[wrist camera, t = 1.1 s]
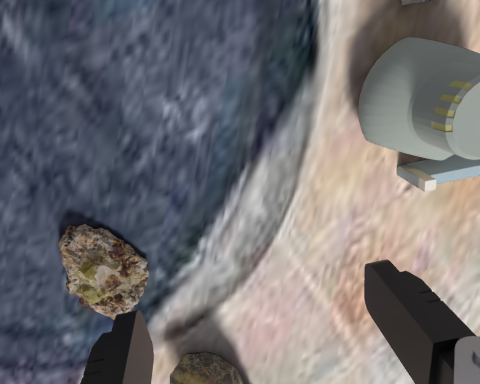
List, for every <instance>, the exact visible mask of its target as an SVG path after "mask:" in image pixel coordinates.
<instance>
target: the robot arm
mask: <svg viewBox="0 0 480 384" xmlns="http://www.w3.org/2000/svg"><path fill="white" fill-rule="evenodd" d="M364 298H365V303H366V307H367V310H368V312H369V314H370V316H371V317H372V319H373V320H374V322H375V323H376V325H377V326H378V328H379V329H380V331H381V332H382V334H383V335H384V337H385V338H386V340H387V341H388V343H389V345H390V346H391V348H392V349H393V351H394V352H395V354H396V355H397V357H398V358H399V360H400V361H401V363H402V364H403V366H404V367H405V369H406V370H407V372H408V373H409V375H410V377H411V378H412V380H413V381H414V383H415V384H480V337H478V336H476V335H475V334H474V333H473V332H472V331H471V330H470V329H469V328H468V327H467V326H466V325H465V324H464V323H463V322H462V321H461V320H460V319H459V318H458V317H457V316H456V314H455V313H454V312H453V311H452V310H451V309H450V308H449V307H448V306H447V305H446V304H445V303H444V302H443V301H441V300H440V298H439V297H438V296H437V295H436V294H435V293H434V292H432V290H431V289H430V288H429V287H428V286H427V285H426V284H425V283H424V281H423V280H422V279H420V278H418V277H417V276H415V275H413V274H411V273H409V272H408V271H403V272H399V271H398V269H397V268H396V267H395V266H394V265H393V264H392V263H391V262H390V261H389V260H382V261H377V262H372V263H368V264H366V265H365V283H364ZM153 361H154V353H153V345H152V341H151V338H150V335H149V332H148V330H147V327H146V324H145V321H144V318H143V315H142V313H141V311H140V310H136V311H132V312H127V313H122V314H118V315H116V317H115V320H114V324H113V328H112V331H111V332H108V333H103V334H102V335H101V336H100V338H99V339H98V340H97V342H96V343H95V344H94V346H93V347H92V349H91V352H90V355H89V359H88V362H87V363H88V364H87V365H86V368H85V371H84V374H83V375H84V377H83V378H82V380H81V383H80V384H151V378H152V370H153Z"/></svg>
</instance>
